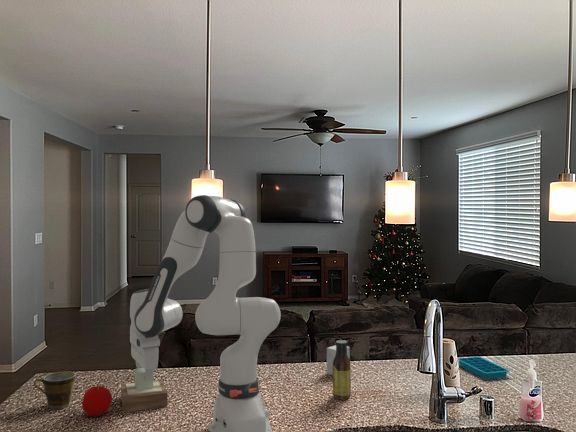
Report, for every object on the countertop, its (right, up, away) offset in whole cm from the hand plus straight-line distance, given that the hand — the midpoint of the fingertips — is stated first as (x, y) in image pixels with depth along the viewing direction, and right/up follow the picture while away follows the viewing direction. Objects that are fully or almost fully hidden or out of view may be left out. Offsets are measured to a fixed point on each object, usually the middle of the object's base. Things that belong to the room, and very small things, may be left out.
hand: (143, 376), depth 173 cm
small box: (+70, -9, +31) cm, 77 cm away
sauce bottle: (+68, -9, +4) cm, 69 cm away
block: (0, -4, 0) cm, 4 cm away
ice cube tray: (+129, -9, +34) cm, 133 cm away
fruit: (-12, -9, -10) cm, 18 cm away
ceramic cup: (-29, -9, -4) cm, 30 cm away
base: (0, -9, 0) cm, 9 cm away
